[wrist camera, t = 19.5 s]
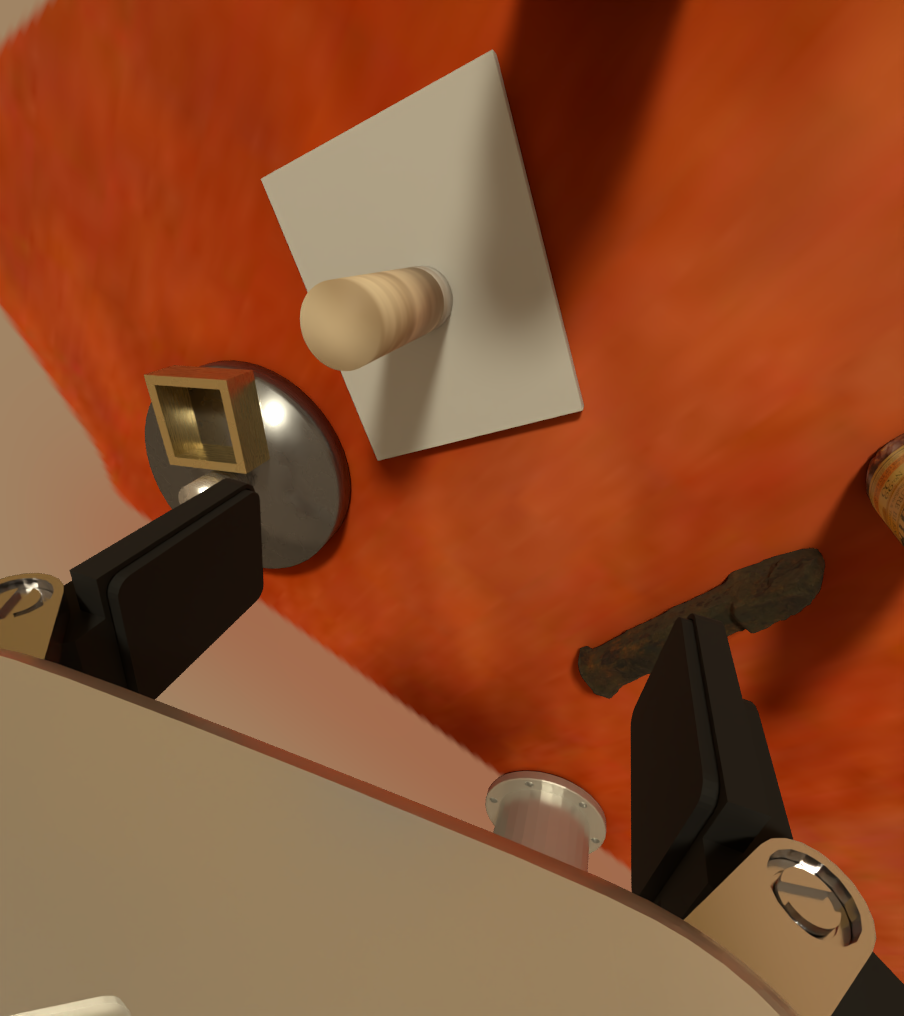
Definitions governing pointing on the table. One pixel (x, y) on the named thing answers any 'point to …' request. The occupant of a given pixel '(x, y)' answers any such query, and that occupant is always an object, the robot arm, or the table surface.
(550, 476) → the table surface
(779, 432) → the table surface
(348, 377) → the mat
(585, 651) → the hand tool
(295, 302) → the table surface
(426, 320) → the beige rounded cylinder
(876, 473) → the sauce bottle
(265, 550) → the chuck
